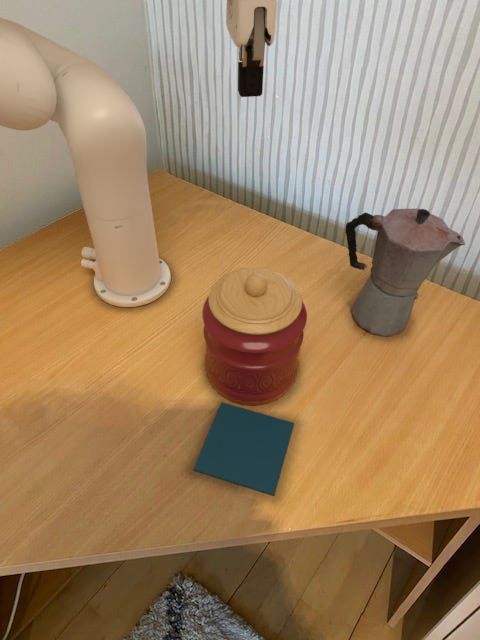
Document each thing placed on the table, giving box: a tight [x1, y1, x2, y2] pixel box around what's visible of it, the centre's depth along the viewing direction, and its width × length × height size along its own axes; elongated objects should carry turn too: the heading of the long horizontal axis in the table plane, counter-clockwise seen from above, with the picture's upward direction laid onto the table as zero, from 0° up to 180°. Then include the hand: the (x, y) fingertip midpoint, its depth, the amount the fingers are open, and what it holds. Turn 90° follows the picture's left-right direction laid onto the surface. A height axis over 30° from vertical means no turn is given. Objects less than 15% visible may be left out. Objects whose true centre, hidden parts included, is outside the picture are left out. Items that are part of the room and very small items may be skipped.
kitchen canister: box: [201, 267, 308, 406], centre depth 61 cm, size 13×13×18 cm
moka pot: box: [345, 208, 466, 337], centre depth 68 cm, size 10×15×20 cm, turn 78°
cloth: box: [193, 401, 295, 497], centre depth 59 cm, size 10×10×1 cm
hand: (249, 93), depth 67 cm, fingers closed
